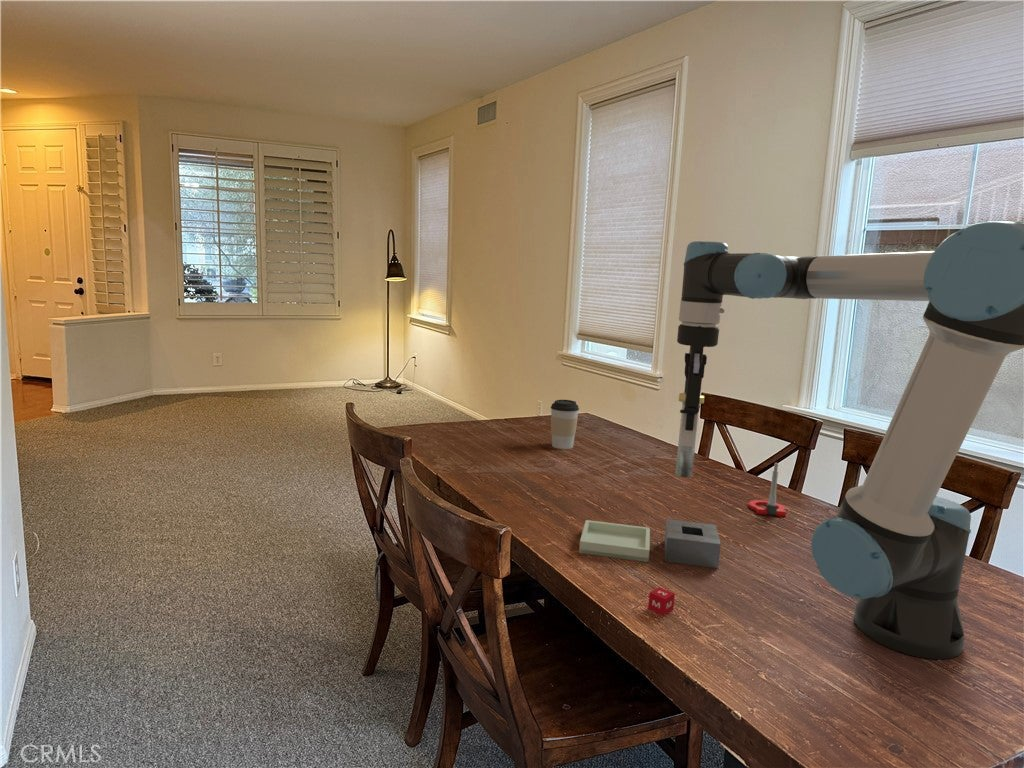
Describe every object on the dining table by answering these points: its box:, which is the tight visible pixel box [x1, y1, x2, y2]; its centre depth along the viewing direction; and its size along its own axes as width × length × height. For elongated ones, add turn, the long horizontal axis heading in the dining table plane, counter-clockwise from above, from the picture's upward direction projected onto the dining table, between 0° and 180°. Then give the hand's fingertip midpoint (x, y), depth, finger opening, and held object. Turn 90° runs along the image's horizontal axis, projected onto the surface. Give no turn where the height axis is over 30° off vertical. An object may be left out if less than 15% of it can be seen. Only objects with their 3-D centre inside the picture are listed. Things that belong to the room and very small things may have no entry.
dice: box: [647, 586, 676, 616], centre depth 109 cm, size 3×3×3 cm
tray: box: [578, 519, 651, 563], centre depth 133 cm, size 12×14×2 cm
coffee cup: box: [550, 399, 580, 450], centre depth 206 cm, size 9×9×15 cm
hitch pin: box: [674, 392, 705, 478], centre depth 127 cm, size 5×5×16 cm
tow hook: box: [748, 462, 787, 517], centre depth 158 cm, size 8×13×9 cm
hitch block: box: [663, 518, 722, 569], centre depth 130 cm, size 10×10×5 cm
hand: (686, 442), depth 128 cm, fingers closed on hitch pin, 3 cm apart
